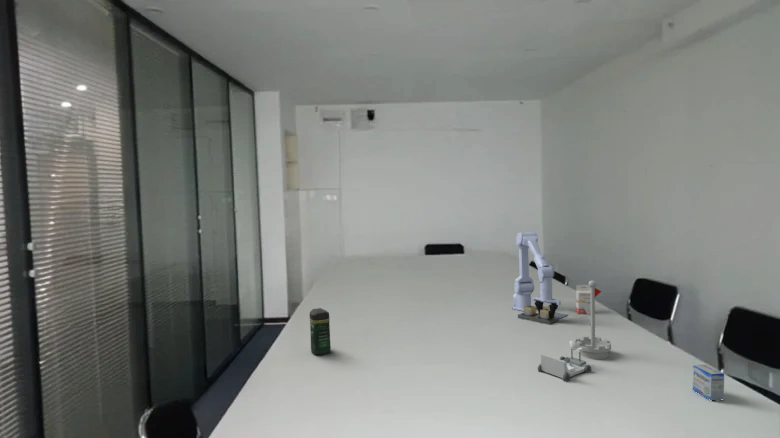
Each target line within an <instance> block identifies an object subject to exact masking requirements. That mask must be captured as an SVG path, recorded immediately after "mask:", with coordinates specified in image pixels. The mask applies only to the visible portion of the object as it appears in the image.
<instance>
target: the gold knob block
mask: <svg viewBox="0 0 780 438" xmlns="http://www.w3.org/2000/svg"><path fill="white" fill-rule="evenodd" d="M540 318H541V319H546V320H551V319H553V318H551V317H550V308H547V307H543V309H541V310H540Z"/></svg>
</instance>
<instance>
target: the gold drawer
mask: <svg viewBox="0 0 780 438" xmlns="http://www.w3.org/2000/svg"><path fill="white" fill-rule="evenodd" d="M523 313H524V315H526V316H531V317H533V316H535V315H536V313H537V307H536V305H532V304H531V305H527V306H524V311H523Z"/></svg>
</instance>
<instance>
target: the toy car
mask: <svg viewBox="0 0 780 438" xmlns="http://www.w3.org/2000/svg"><path fill="white" fill-rule="evenodd" d="M576 342H577V341H576V340H575V341H573V340H569V348H570V350H571V352H570V353H571V354H570V355H571V357H568V356H566V357H565V356H563V355H562V356H560V357H559V358H557V357H554V356H551V355H548V354H544V353H541V354H540V364H538V366H537V372H539V373H542V372H545V373H547V374H550V375H553V376H554V377H558V378H561V379H562V380H563V382H565V381H566V382H567V381H570V379H571V377H573V376H576V375H579V374H580V373H583V372H584V373H586V374H588V373H591V371H592V366H591V365H590V364H587V361H586V360H583V359H581V355H580V352H581V351H583V348H579V347H580V345H579V344H578V343H576ZM573 351H576V352H578V358H577V357H574V356H573V355H574V354H573ZM541 371H542V372H541Z"/></svg>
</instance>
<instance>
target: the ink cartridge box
mask: <svg viewBox="0 0 780 438" xmlns="http://www.w3.org/2000/svg"><path fill="white" fill-rule="evenodd" d="M575 288H576V289H575V312H576V313H577V314H578V315H591V294H590V286H589V284H577V285H576V286H575Z"/></svg>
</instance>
